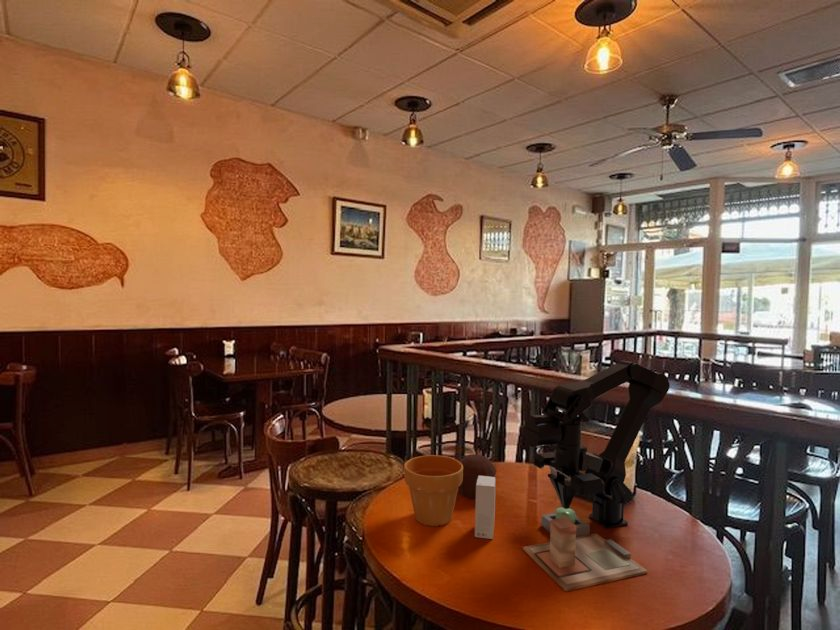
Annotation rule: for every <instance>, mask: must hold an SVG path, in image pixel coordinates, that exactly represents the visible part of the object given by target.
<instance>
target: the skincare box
mask: <svg viewBox="0 0 840 630" xmlns="http://www.w3.org/2000/svg"><path fill="white" fill-rule="evenodd" d="M474 508H475V510H474V511H475V512H474V513H475V514H474V515H475V516H474V537H475V538H479V539H480V538H481V539H490V540H493V539H494V530H495V519H496V517H495V515H496V477H489V476H480V475H479V476H478V479H477V483H476V499H475V507H474Z"/></svg>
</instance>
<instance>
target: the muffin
mask: <svg viewBox="0 0 840 630" xmlns="http://www.w3.org/2000/svg"><path fill="white" fill-rule="evenodd" d="M458 461H459V462H461V464H462V465H463V481H462V484H461V485H460V486H459V487H458V494H460V495H461V496H462V497H463V498H467V499H468V500H469V499H470V500H473V501H474V500H476V483H477V479H478V476H479V475H480V476H489V477H495V476H496V474H497V472H498V471H497V468H496V467H495V466H494V464H493V462H492V461H491V460H490V459H488V458H487V457H485V456H484V455H482V454H474V453H473V454H468V455H465V456H464V457H462V458H461V459H460V460H458Z"/></svg>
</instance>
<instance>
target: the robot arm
mask: <svg viewBox="0 0 840 630" xmlns="http://www.w3.org/2000/svg"><path fill="white" fill-rule="evenodd" d="M625 383H628V386H627V390H628V396H629V397H628V398H629V400H628V402H627V404H626V406H625V407H624V410H623V412H622V414H621V417H620V419H619V420H618V422H617V424H616V426H615V428H614V429H613V433H612V434H611V437H610V438H609V440H608V443H607V445H606V447H605V449H604V450H603V451H602V452H600V453H599V454H597V453H592V452H589V451H588V448H587V447H586V446H584V445H582V423H587V422H590V418H589V417H588V416H587V415H586V414H585V412H586V411H587V410H589V408H591V407H592V406H593V403H594V401H595V400H596V399H597V398H599V397H600V396H603V395H605V394H606V393H608V392H609V391H612V390H614V389H617V388H618V387H619V386H622V385H623V384H625ZM670 385H671V384H670V381H669V379H668V377H667V375H666V374H664V373H662V372H656V371H652V370H650V369H648V368H646V367H643V366H642V365H640V364H638V363H637V362H634V361H627V360H623V359H622V360H619V361H617V362H615V364H614V365H611V366H610V367H607V368H605V369H603V370H601V371H600V372H598V373H597V372H596V374H593V375H592V376H590V377H587V378H586V379H584V380H581V381H573V382H566V383H563V384H559V385H557V386H555V387H554V388H553V390H552V394H551V395H550V397H549V399H548V400H547V402H546V404H545V406H544V407H543V409H542V410H541V414H530V415H529V420H528V421H527V422H526V423H525V425H524V427H523V437H524V439H525V441H526V443H527V445H528V446H529V447H530V448H536V447H537V448H539V447H543V446H544V447H546V446H550V449H552V450H554V451H549V452H548V451H547V452H539V453H537V454H536V455H535V456H534V459H533V460H534V461H533V463H534V466H535V467H537V468H538V469H540V470H542V469H543V468H544V467H545V465H548V467H549V469H550V473H547V477H548V478H549V480H550V482H551V484H552V486H553V488H554V490H555V492H556V495H557V497H558V500H559V501H560V503H561V507H563V508H564V509H568V508H570V506H571V504H572V502H573V499H574V497H575V495H576V493H577V494H578V495H581V496H587V495H592V494H593V501H592V510H591V511H592V513H589V514H588V517H589V518H591V519H592V520H593V521H595V522H597V524H599V525H601V526H602V527H604V528H606V529H610V528H617V527H621V526H628V525H629V522H628V521H627V520H625V518H624V511H625V510H624V509H625V507H624V505H625V504H626V503H628V502H630V501H631V498H632V496H633V495H632V494H633V491H631V490H630V488H629V487H628V486H627V485H626V484H625V479H626V478H627V477H626V476H627V474H626V473H627V471H626V465H625V462H626V460H627V458H628V456H629V453H630V451H631V450H632V447H633V445H634V443H635V441H636V439H637V437H638V434H639V432H640V431H641V428H642V427H643V425H644V422H645V420H646V418H647V416H648V413H649V412H650V411H651V409H652V408H653V407H656V406H657V405H658V404H660V403H662V401H663V400H664V399H665V397H666V395H667V393H668V392H669V390H670ZM556 409H557V410H556ZM583 472H584V473H583Z"/></svg>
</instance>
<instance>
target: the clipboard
mask: <svg viewBox="0 0 840 630" xmlns="http://www.w3.org/2000/svg"><path fill="white" fill-rule="evenodd" d="M522 550H523V551H524V552H525V553H526V554H527V555H528V556H529V558H531V559H532V560H533V561H534V562H535V563H536V564H537V565H538V566H539V567H540V569H542V570H543V571H544V572H545V573H546V574H547V575H548V576H549V577H550V578H551V579H552V580H553V581H554V582H555V583H556V584H557V585H558V586H560V588H561V589H562V590H563V591H564V592H569V591H575V590H579V589H582V588H588V587H593V586H595V585H601V584H605V583H610V582H614V581H620V580H624V579H628V578H631V577H633V578H634V577H638V576H641V575H646V574H648V570H647V569H646V568H644V567H643V566H642V565H640V564H639V563H638V562H636V561H635V560H634V559H632V558H631V556H632V554H631V552H629V551H628V550H626V549H625V548H624V547H622V546H620V545H619V544H618V543H617V542H615V541H614V540H612V539H610V538H608V539H604V537H602V536H600V535H599V534H598V533H591V534H590V535H585V536H580V537H576V543H575V565H572V566H567V567H562V568H559V567H558V566H557V565H556V564H555V563H554V562H553V561H552V560H551V559H550V541H548V542H542V543H536V544H531V545H527V546H522ZM645 573H646V574H645Z"/></svg>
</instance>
